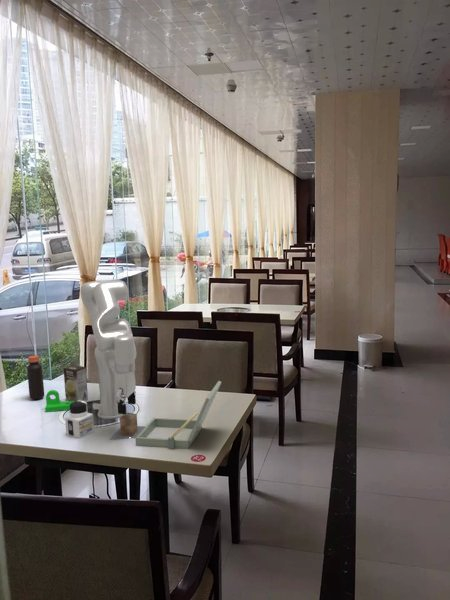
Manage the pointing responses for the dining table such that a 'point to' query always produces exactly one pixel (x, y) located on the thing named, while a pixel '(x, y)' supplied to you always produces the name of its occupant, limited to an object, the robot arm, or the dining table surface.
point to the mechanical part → (56, 402)
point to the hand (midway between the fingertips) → (127, 408)
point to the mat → (118, 435)
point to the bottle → (35, 378)
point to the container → (79, 420)
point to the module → (128, 424)
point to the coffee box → (75, 383)
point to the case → (177, 423)
